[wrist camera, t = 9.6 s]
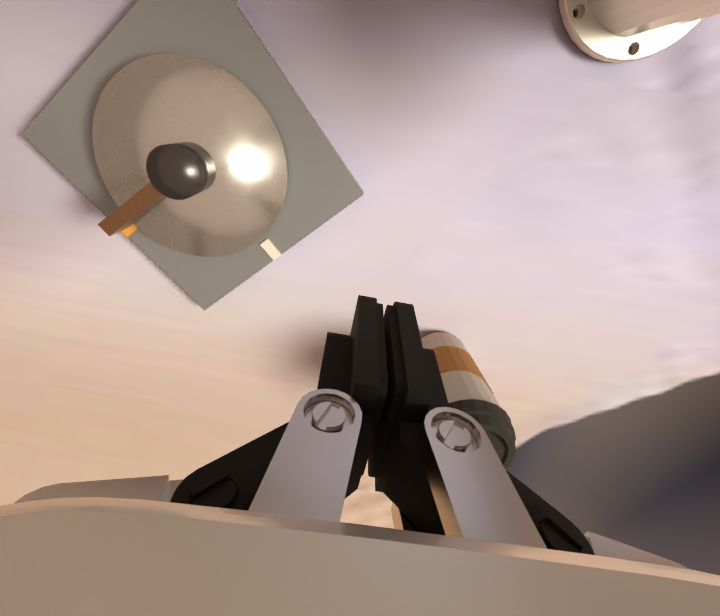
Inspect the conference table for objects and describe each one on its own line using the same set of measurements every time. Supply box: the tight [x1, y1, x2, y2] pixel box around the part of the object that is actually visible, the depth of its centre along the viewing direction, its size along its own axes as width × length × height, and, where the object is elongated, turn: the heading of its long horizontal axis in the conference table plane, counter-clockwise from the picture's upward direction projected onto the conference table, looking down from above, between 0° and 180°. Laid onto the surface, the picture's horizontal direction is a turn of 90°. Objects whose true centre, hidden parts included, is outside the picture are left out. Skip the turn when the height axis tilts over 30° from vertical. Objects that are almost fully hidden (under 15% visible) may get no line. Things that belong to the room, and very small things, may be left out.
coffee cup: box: [421, 332, 516, 469], centre depth 36 cm, size 8×8×15 cm
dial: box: [92, 53, 289, 257], centre depth 29 cm, size 16×16×5 cm
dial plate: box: [21, 0, 363, 310], centre depth 32 cm, size 21×21×2 cm
